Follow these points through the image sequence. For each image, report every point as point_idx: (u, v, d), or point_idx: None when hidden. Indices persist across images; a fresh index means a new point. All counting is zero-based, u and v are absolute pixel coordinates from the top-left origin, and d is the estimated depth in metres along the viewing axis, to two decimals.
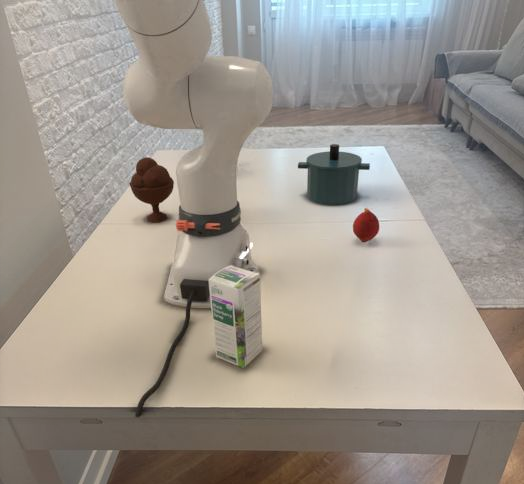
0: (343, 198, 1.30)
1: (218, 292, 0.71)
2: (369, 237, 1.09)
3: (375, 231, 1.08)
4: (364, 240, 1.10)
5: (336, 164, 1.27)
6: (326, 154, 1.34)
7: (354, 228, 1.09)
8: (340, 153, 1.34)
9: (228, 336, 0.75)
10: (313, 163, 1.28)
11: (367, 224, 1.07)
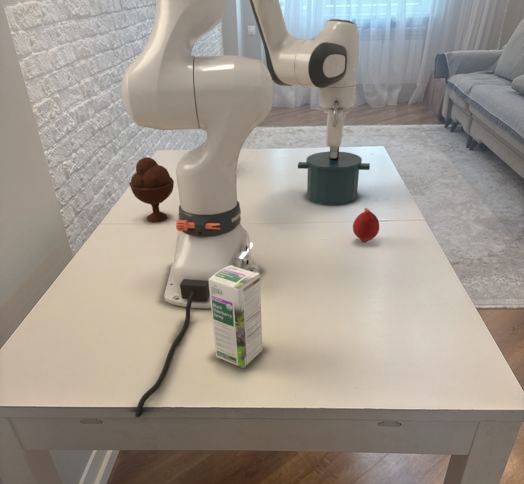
0: (343, 198, 1.30)
1: (218, 292, 0.71)
2: (369, 237, 1.09)
3: (375, 231, 1.08)
4: (364, 240, 1.10)
5: (336, 164, 1.27)
6: (326, 154, 1.34)
7: (354, 228, 1.09)
8: (340, 153, 1.34)
9: (228, 336, 0.75)
10: (313, 163, 1.28)
11: (367, 224, 1.07)
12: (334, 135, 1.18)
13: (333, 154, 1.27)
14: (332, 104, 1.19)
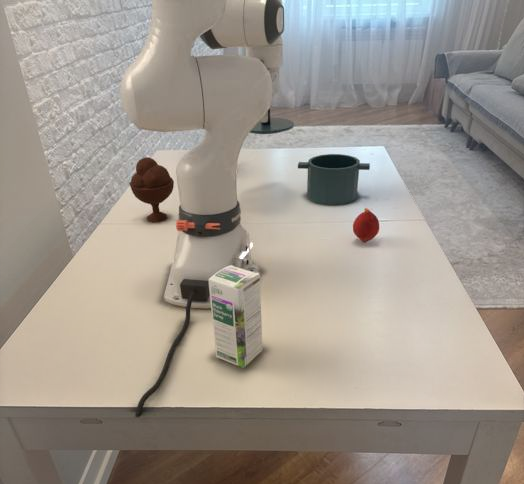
0: (343, 198, 1.30)
1: (218, 292, 0.71)
2: (369, 237, 1.09)
3: (375, 231, 1.08)
4: (364, 240, 1.10)
5: (265, 128, 1.23)
6: (260, 120, 1.31)
7: (354, 228, 1.09)
8: (274, 119, 1.31)
9: (228, 336, 0.75)
10: None
11: (367, 224, 1.07)
12: None
13: (263, 118, 1.24)
14: None
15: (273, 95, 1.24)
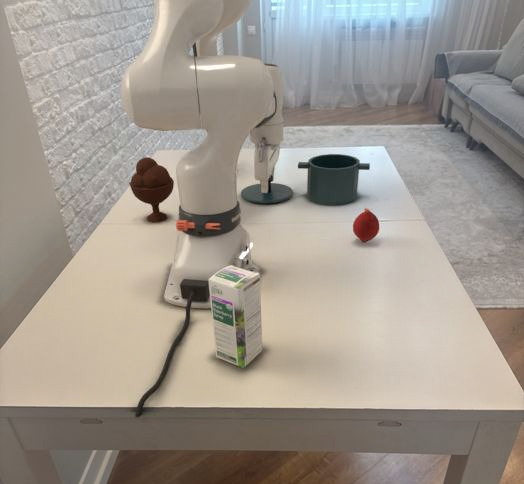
0: (343, 198, 1.30)
1: (218, 292, 0.71)
2: (369, 237, 1.09)
3: (375, 231, 1.08)
4: (364, 240, 1.10)
5: (267, 197, 1.34)
6: None
7: (354, 228, 1.09)
8: (274, 185, 1.42)
9: (228, 336, 0.75)
10: (246, 196, 1.35)
11: (367, 224, 1.07)
12: (261, 170, 1.24)
13: (264, 189, 1.32)
14: (260, 140, 1.25)
15: (274, 164, 1.34)
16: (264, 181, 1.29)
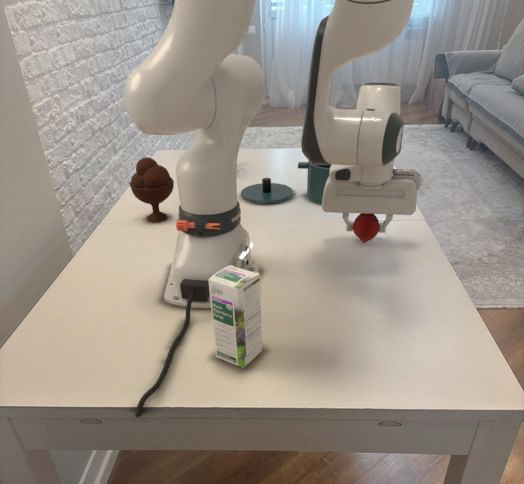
0: None
1: (218, 292, 0.71)
2: (369, 237, 1.09)
3: (375, 231, 1.08)
4: (364, 240, 1.10)
5: (267, 197, 1.34)
6: (261, 186, 1.41)
7: (354, 228, 1.10)
8: (274, 185, 1.42)
9: (228, 336, 0.75)
10: (246, 196, 1.35)
11: (367, 224, 1.07)
12: None
13: (385, 227, 1.09)
14: (392, 174, 1.01)
15: None
16: None
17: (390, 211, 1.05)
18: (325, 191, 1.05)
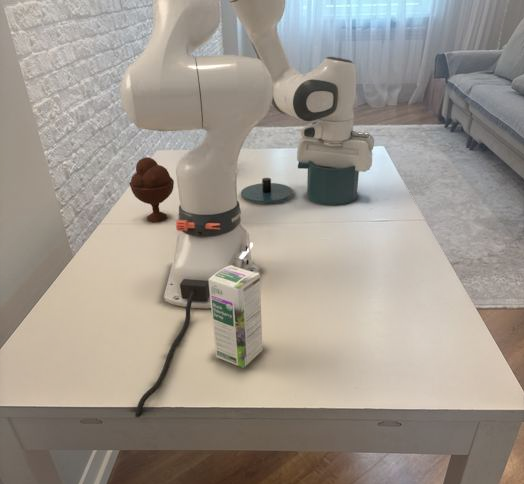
0: (343, 198, 1.30)
1: (218, 292, 0.71)
2: None
3: None
4: None
5: (267, 197, 1.34)
6: (261, 186, 1.41)
7: None
8: (274, 185, 1.42)
9: (228, 336, 0.75)
10: (246, 196, 1.35)
11: None
12: (370, 159, 1.26)
13: None
14: (349, 135, 1.24)
15: None
16: None
17: None
18: (298, 145, 1.31)
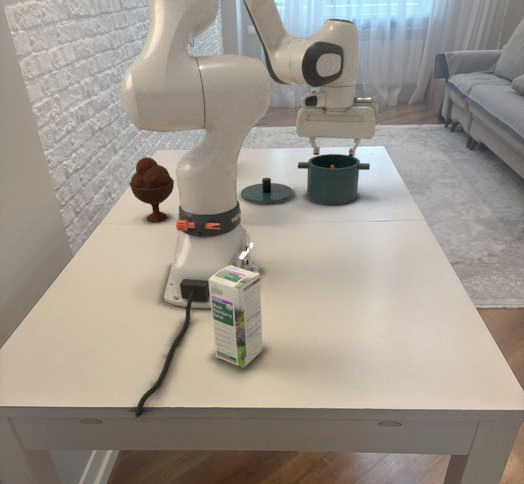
0: (343, 198, 1.30)
1: (218, 292, 0.71)
2: None
3: None
4: None
5: (267, 197, 1.34)
6: (261, 186, 1.41)
7: None
8: (274, 185, 1.42)
9: (228, 336, 0.75)
10: (246, 196, 1.35)
11: None
12: (375, 126, 1.23)
13: (354, 152, 1.28)
14: (353, 101, 1.20)
15: None
16: (359, 142, 1.26)
17: (352, 135, 1.24)
18: (298, 117, 1.25)
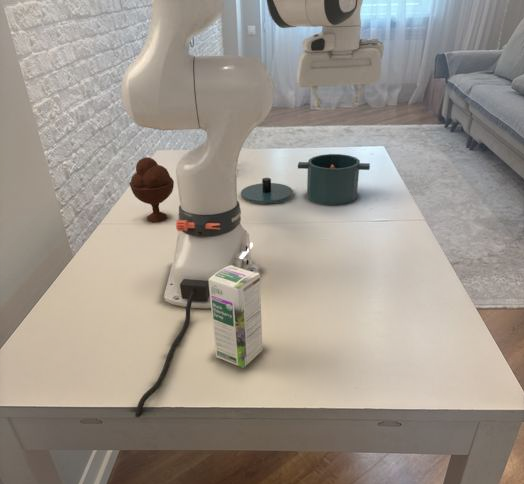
0: (343, 198, 1.30)
1: (218, 292, 0.71)
2: None
3: None
4: None
5: (267, 197, 1.34)
6: (261, 186, 1.41)
7: None
8: (274, 185, 1.42)
9: (228, 336, 0.75)
10: (246, 196, 1.35)
11: None
12: None
13: None
14: (359, 43, 1.14)
15: None
16: None
17: (359, 81, 1.18)
18: (302, 64, 1.15)
